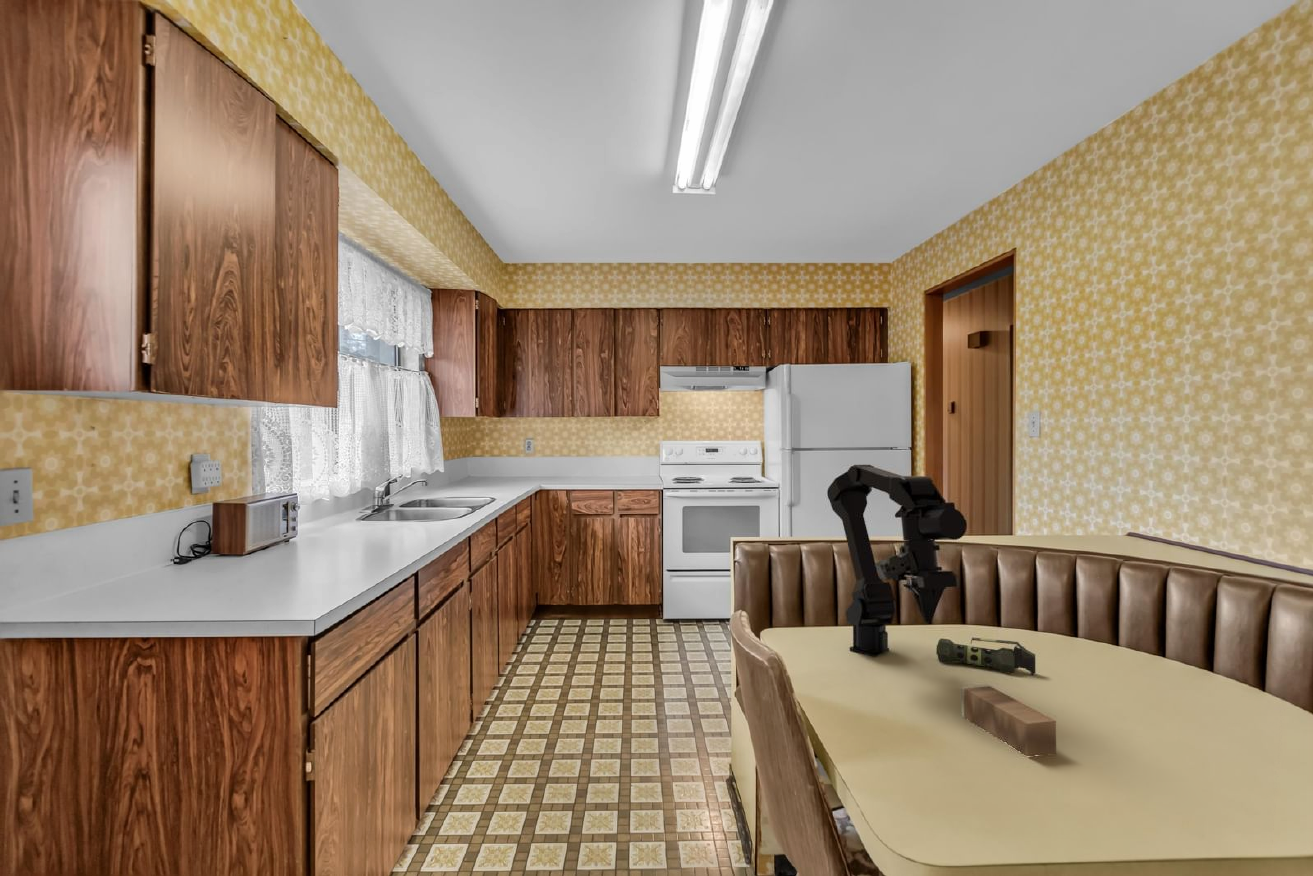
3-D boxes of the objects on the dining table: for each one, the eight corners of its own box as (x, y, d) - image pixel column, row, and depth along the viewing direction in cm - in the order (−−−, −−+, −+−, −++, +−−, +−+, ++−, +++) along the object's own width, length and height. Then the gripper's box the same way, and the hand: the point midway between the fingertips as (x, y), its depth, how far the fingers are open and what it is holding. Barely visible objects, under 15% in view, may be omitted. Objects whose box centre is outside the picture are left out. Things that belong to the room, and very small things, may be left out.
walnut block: (961, 687, 104) (1027, 724, 90) (987, 684, 105) (1055, 720, 91) (961, 716, 104) (1027, 758, 90) (987, 713, 105) (1056, 754, 91)
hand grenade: (938, 656, 134) (1035, 672, 124) (935, 663, 129) (1035, 680, 120) (938, 627, 134) (1035, 641, 124) (935, 634, 130) (1035, 648, 120)
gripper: (864, 541, 130) (871, 617, 127) (892, 542, 111) (901, 631, 109) (918, 539, 129) (926, 615, 127) (955, 540, 111) (965, 629, 108)
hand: (927, 622), depth 118 cm, fingers closed
